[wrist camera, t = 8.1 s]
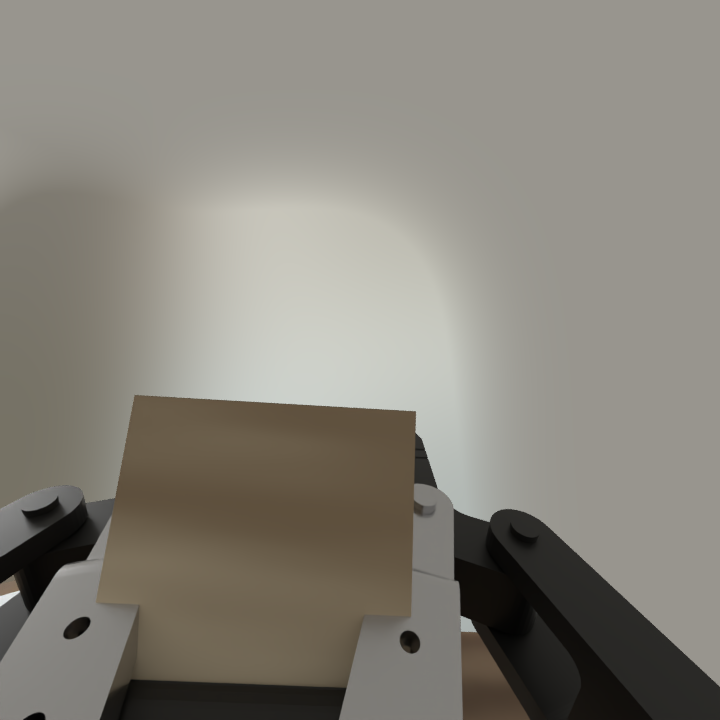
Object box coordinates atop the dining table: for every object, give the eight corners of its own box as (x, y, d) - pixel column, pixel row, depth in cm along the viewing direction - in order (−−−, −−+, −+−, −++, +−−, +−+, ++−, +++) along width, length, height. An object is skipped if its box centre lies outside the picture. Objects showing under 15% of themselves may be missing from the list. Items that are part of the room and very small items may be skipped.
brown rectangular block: (408, 746, 4) (415, 411, 5) (71, 733, 4) (134, 394, 5) (356, 469, 30) (359, 423, 30) (311, 467, 29) (315, 421, 30)
